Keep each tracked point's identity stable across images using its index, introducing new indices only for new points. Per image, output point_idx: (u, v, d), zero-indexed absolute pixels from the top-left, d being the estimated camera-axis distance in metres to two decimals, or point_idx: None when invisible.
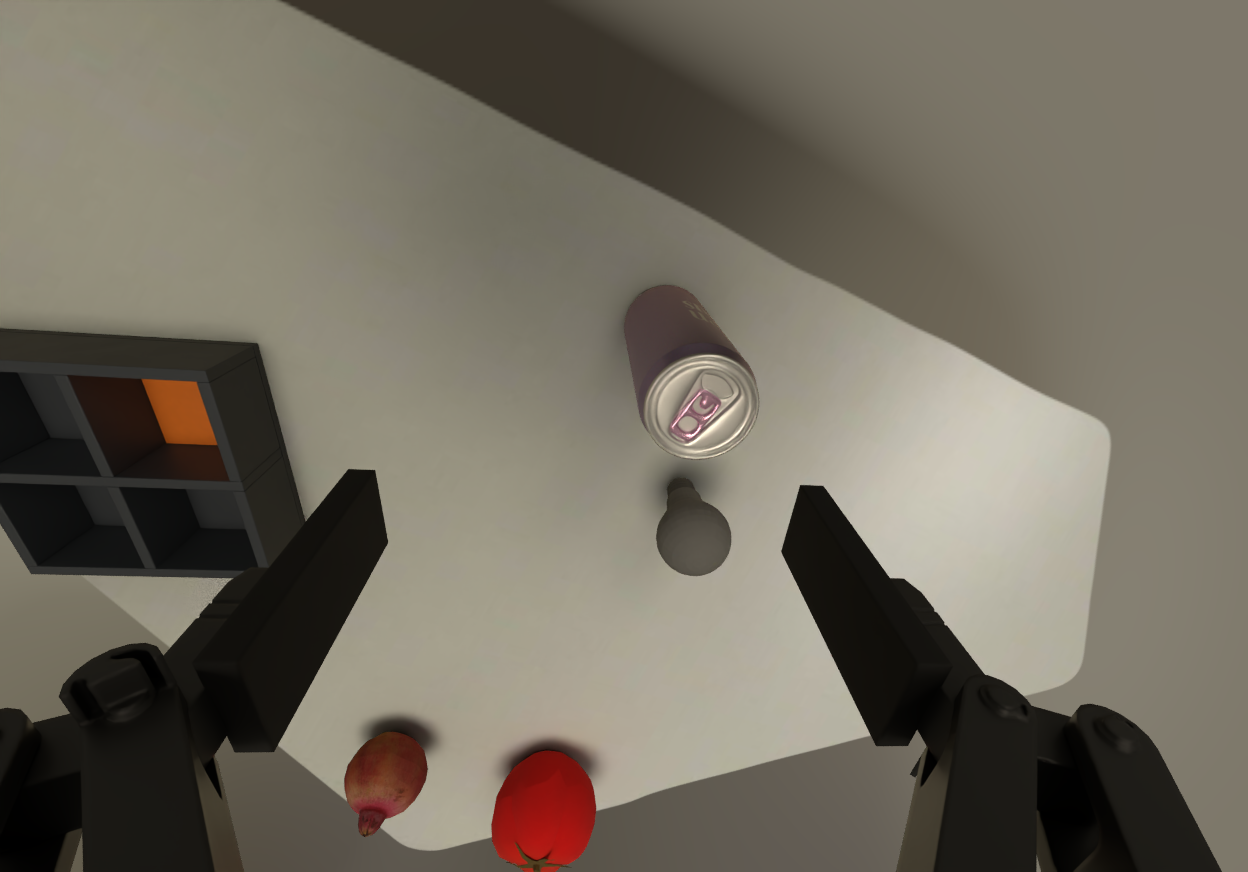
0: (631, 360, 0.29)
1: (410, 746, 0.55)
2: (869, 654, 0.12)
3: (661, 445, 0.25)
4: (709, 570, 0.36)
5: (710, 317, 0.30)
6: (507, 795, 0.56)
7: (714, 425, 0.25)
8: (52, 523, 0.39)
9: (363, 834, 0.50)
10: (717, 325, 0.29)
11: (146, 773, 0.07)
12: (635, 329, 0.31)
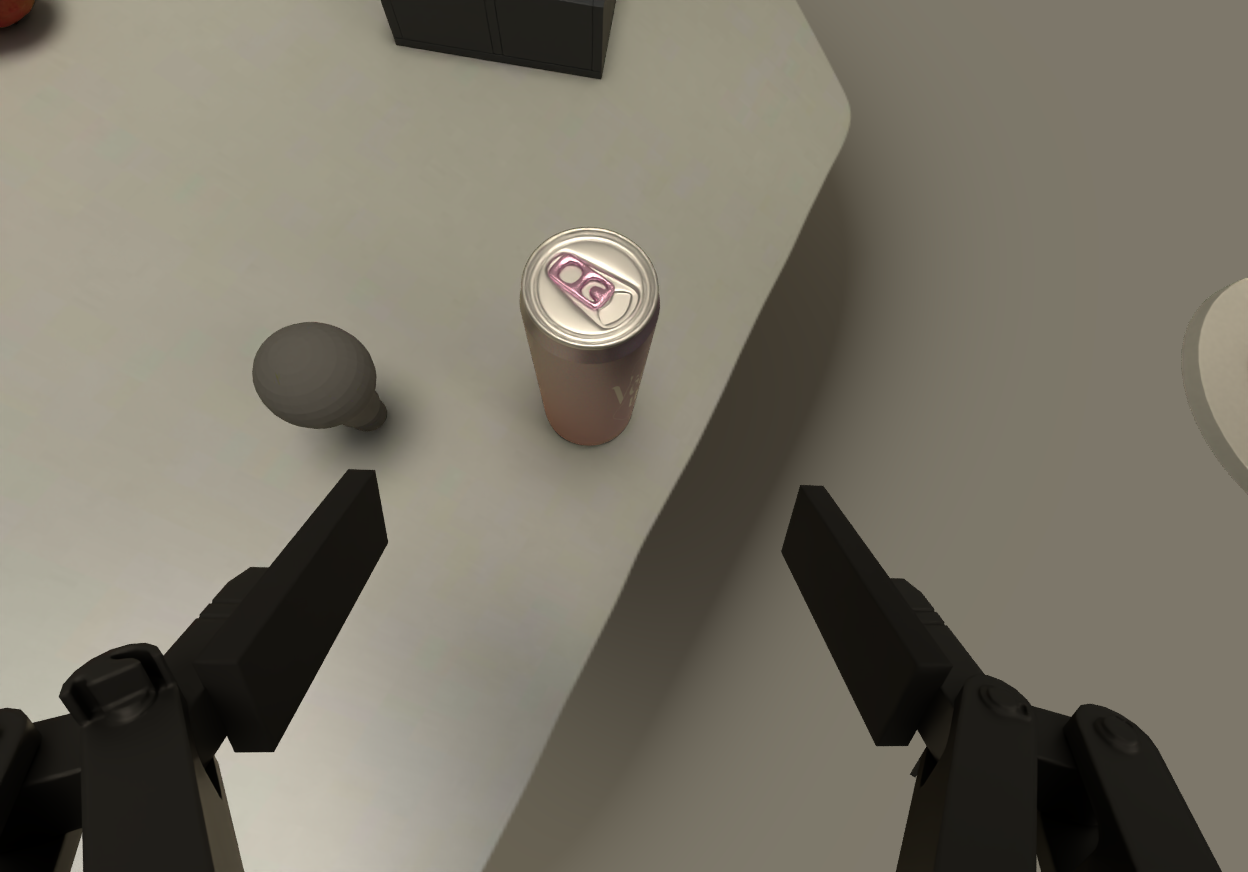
0: None
1: None
2: (869, 654, 0.12)
3: (548, 240, 0.21)
4: (265, 370, 0.24)
5: (629, 400, 0.28)
6: None
7: (567, 300, 0.20)
8: None
9: None
10: (627, 396, 0.27)
11: (146, 773, 0.07)
12: None
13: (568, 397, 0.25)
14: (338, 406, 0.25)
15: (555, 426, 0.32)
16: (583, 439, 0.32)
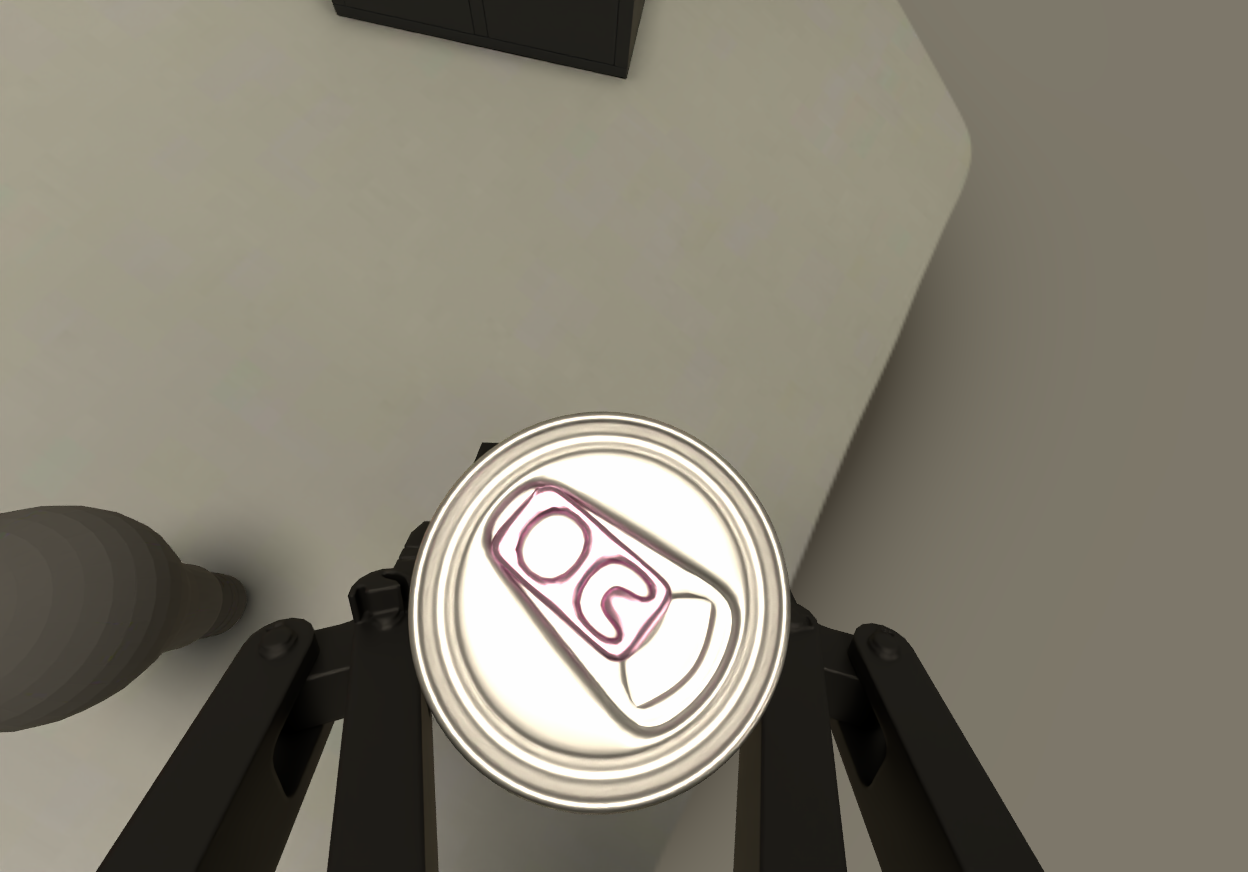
0: None
1: None
2: None
3: (497, 451, 0.08)
4: None
5: None
6: None
7: (538, 638, 0.07)
8: None
9: None
10: None
11: (389, 678, 0.09)
12: None
13: None
14: (58, 702, 0.12)
15: None
16: None
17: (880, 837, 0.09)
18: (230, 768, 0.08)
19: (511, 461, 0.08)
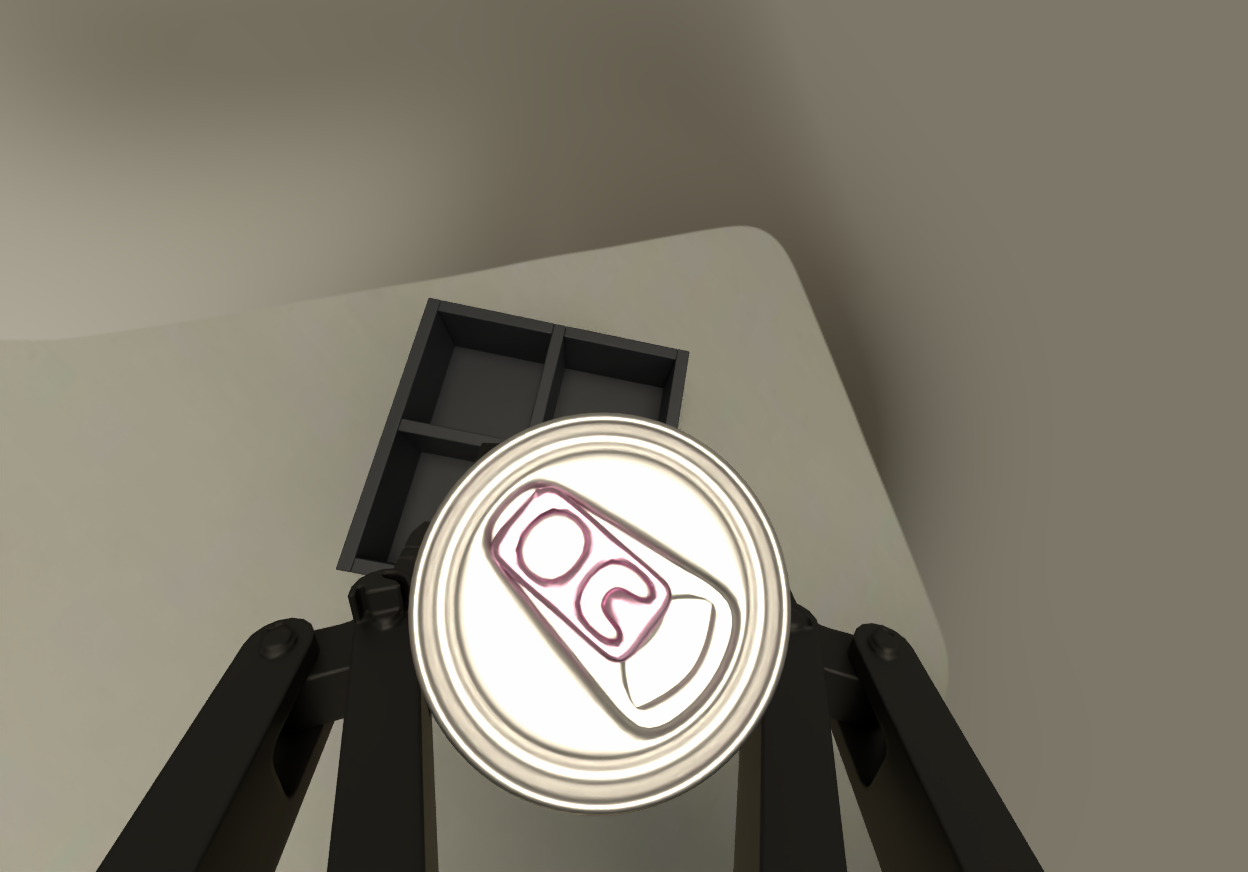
0: None
1: None
2: None
3: (498, 452, 0.08)
4: None
5: None
6: None
7: (538, 639, 0.07)
8: (478, 334, 0.35)
9: None
10: None
11: (389, 678, 0.09)
12: None
13: None
14: None
15: None
16: None
17: (880, 837, 0.09)
18: (230, 768, 0.08)
19: (511, 462, 0.08)
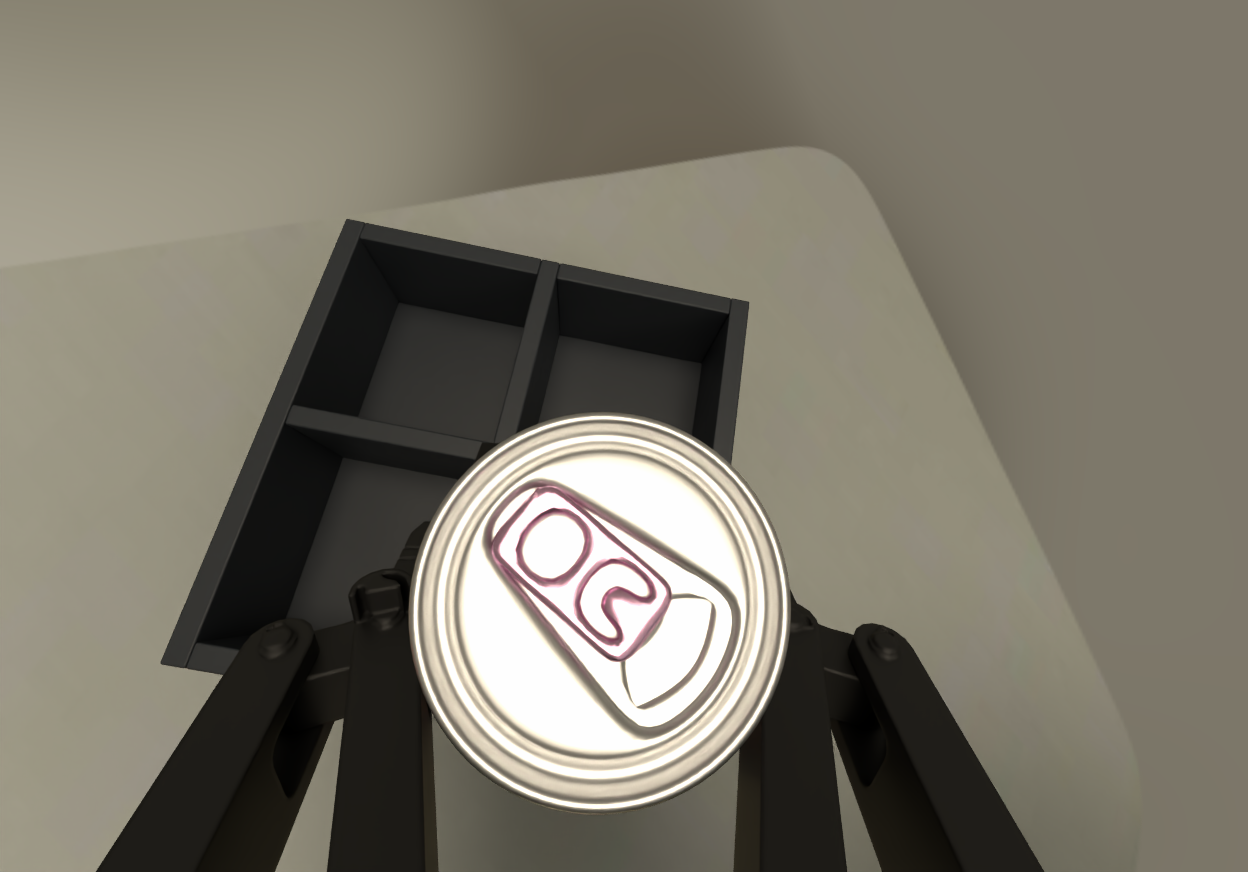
0: None
1: None
2: None
3: (498, 452, 0.08)
4: None
5: None
6: None
7: (538, 638, 0.07)
8: (428, 280, 0.23)
9: None
10: None
11: (389, 678, 0.09)
12: None
13: None
14: None
15: None
16: None
17: (880, 837, 0.09)
18: (230, 768, 0.08)
19: (511, 461, 0.08)
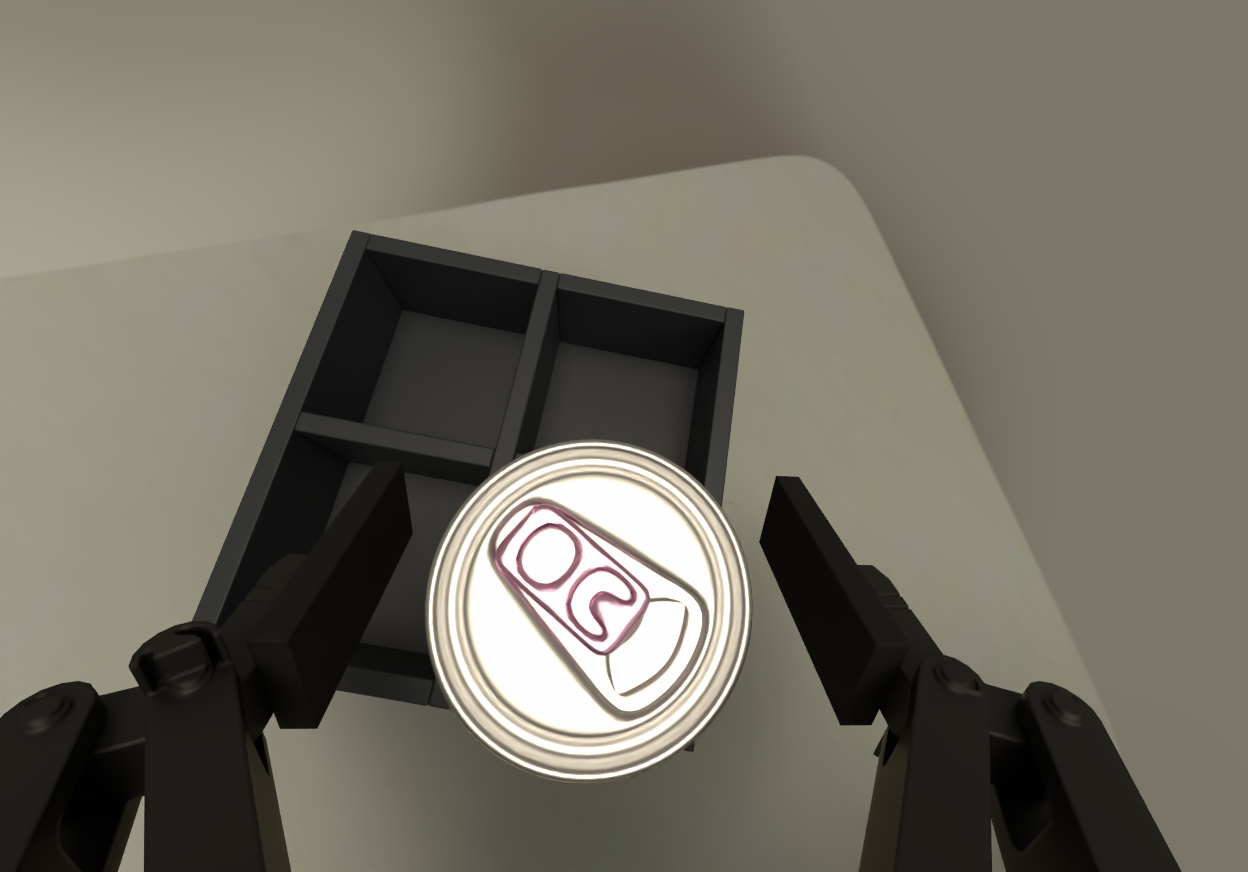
0: None
1: None
2: (835, 637, 0.12)
3: (501, 474, 0.09)
4: None
5: None
6: None
7: (534, 635, 0.08)
8: (432, 289, 0.24)
9: None
10: None
11: (203, 745, 0.08)
12: None
13: None
14: None
15: None
16: None
17: None
18: None
19: (512, 482, 0.09)
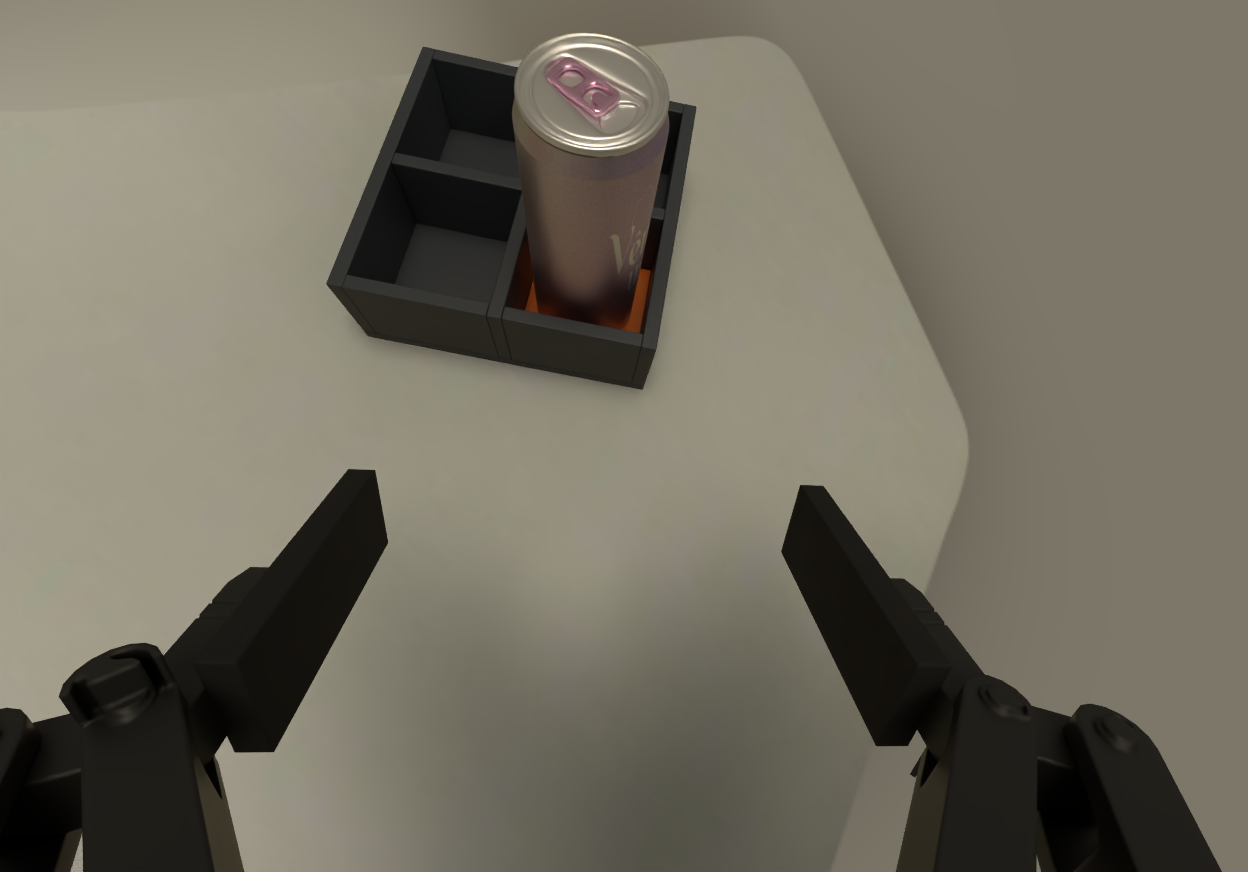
0: None
1: None
2: (869, 654, 0.12)
3: (548, 41, 0.19)
4: None
5: (628, 275, 0.25)
6: None
7: (565, 103, 0.18)
8: (475, 99, 0.33)
9: None
10: (626, 264, 0.24)
11: (146, 773, 0.07)
12: None
13: (562, 251, 0.23)
14: None
15: None
16: None
17: None
18: None
19: (553, 49, 0.19)
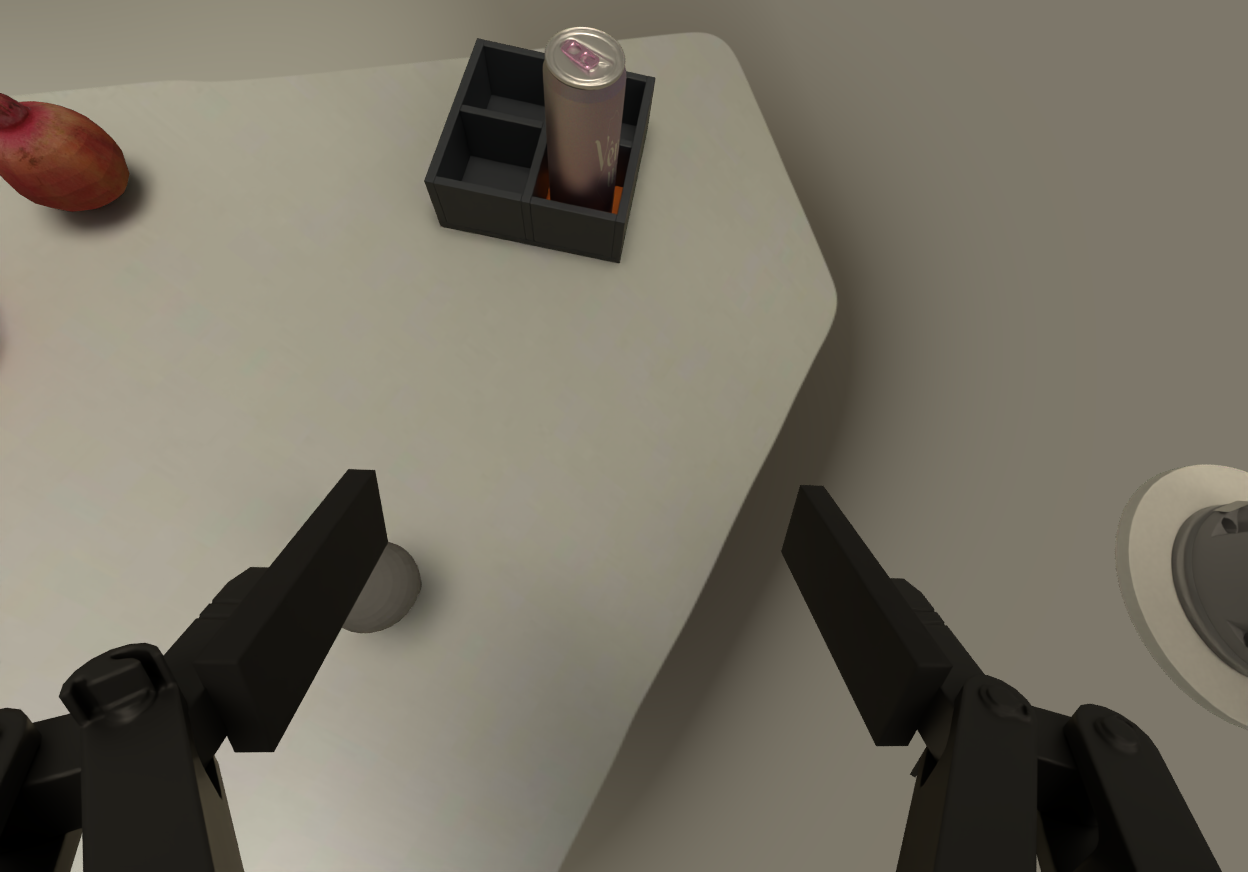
0: None
1: (95, 200, 0.42)
2: (869, 654, 0.12)
3: (562, 31, 0.35)
4: None
5: (607, 174, 0.42)
6: None
7: (571, 62, 0.35)
8: (509, 74, 0.50)
9: None
10: (605, 164, 0.41)
11: (146, 773, 0.07)
12: None
13: (568, 152, 0.39)
14: (390, 620, 0.30)
15: None
16: None
17: None
18: None
19: (564, 35, 0.36)
